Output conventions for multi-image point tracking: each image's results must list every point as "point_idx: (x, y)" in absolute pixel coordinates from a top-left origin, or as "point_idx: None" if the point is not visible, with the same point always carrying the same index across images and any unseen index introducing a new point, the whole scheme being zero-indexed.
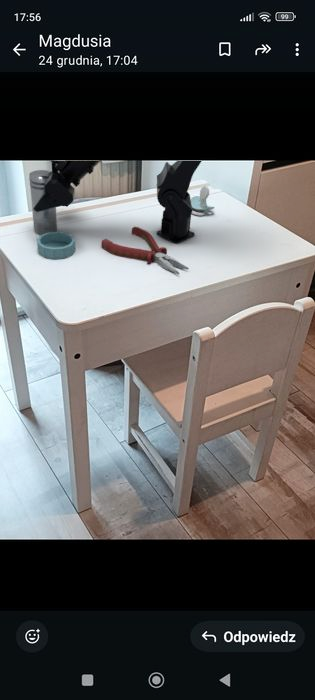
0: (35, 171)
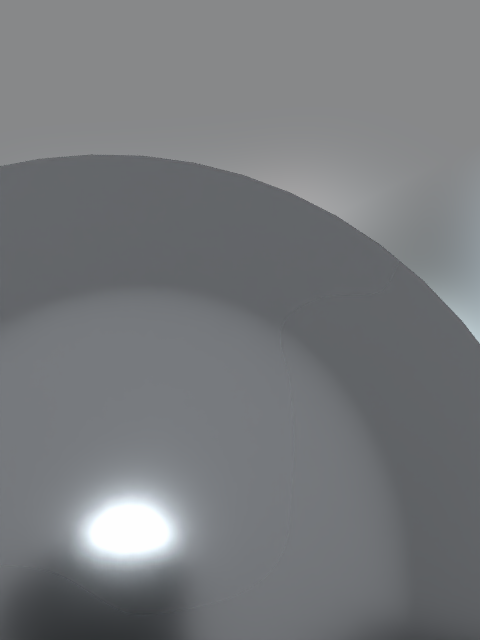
0: (389, 324)
